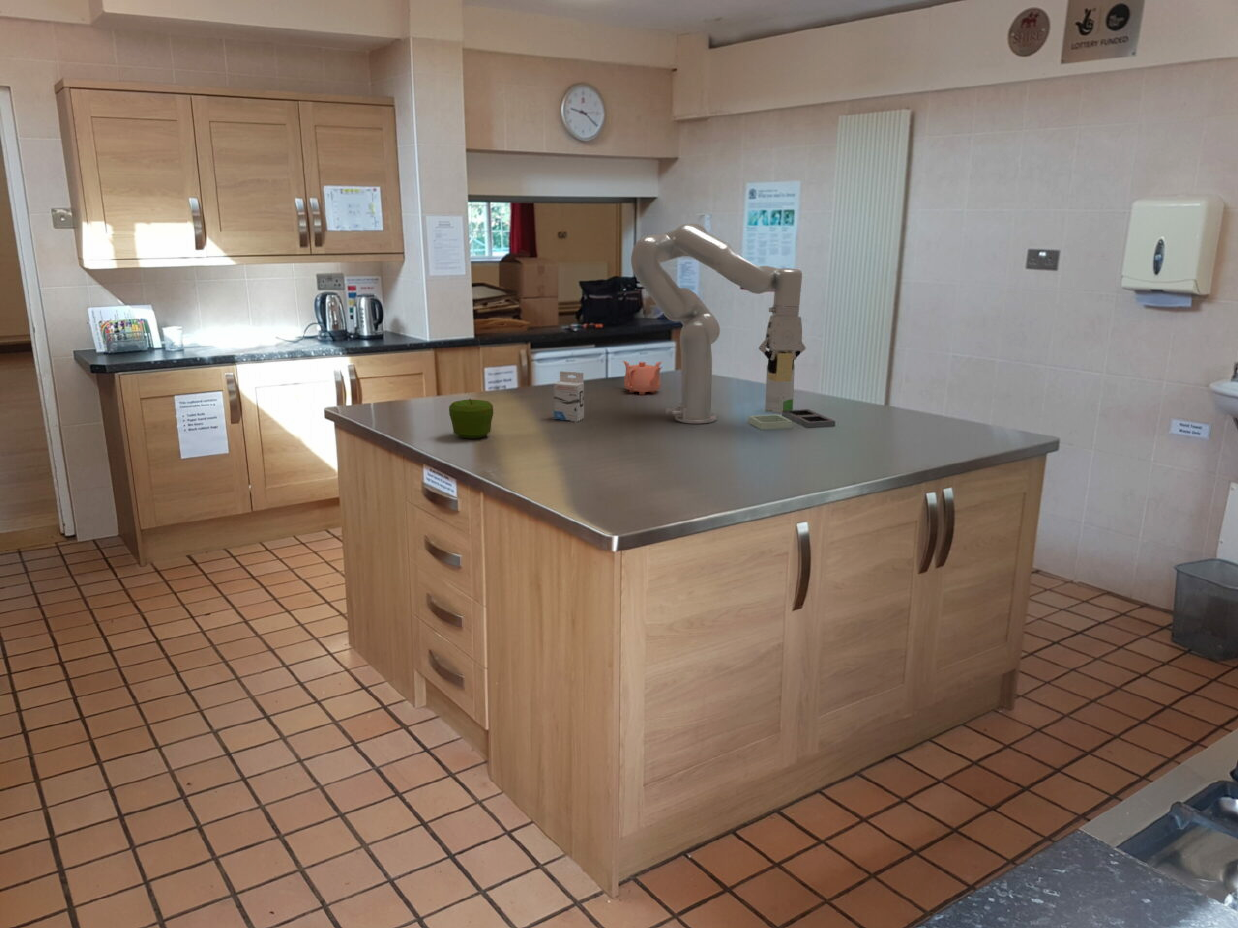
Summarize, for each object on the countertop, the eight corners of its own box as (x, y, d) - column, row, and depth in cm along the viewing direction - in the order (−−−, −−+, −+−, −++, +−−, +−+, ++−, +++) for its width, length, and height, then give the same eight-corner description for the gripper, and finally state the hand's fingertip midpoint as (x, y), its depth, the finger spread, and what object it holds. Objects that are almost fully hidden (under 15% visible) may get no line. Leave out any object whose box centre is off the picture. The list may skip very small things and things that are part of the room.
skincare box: (781, 415, 295) (784, 367, 291) (763, 412, 299) (765, 365, 295) (793, 411, 302) (796, 363, 298) (775, 408, 306) (777, 361, 302)
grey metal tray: (807, 430, 276) (807, 422, 275) (781, 417, 293) (782, 410, 292) (834, 428, 278) (835, 421, 277) (808, 415, 295) (808, 409, 294)
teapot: (622, 388, 341) (622, 358, 338) (661, 388, 340) (661, 359, 338) (621, 396, 327) (621, 365, 324) (662, 396, 326) (662, 365, 324)
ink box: (553, 420, 289) (552, 373, 286) (560, 416, 294) (559, 371, 290) (578, 422, 287) (578, 375, 283) (584, 418, 291) (584, 372, 287)
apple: (450, 442, 261) (448, 403, 258) (450, 432, 273) (449, 395, 270) (494, 441, 263) (493, 402, 260) (493, 431, 275) (492, 393, 272)
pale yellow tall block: (775, 381, 274) (778, 353, 271) (768, 378, 278) (770, 350, 276) (791, 381, 275) (793, 353, 273) (783, 378, 280) (786, 350, 277)
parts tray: (761, 431, 274) (761, 423, 273) (748, 424, 283) (748, 416, 283) (792, 429, 277) (792, 421, 276) (778, 422, 286) (778, 414, 285)
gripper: (764, 313, 265) (759, 375, 270) (817, 313, 270) (811, 374, 275) (753, 309, 272) (748, 370, 277) (806, 310, 277) (800, 370, 282)
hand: (780, 372), depth 276 cm, fingers closed on pale yellow tall block, 5 cm apart
